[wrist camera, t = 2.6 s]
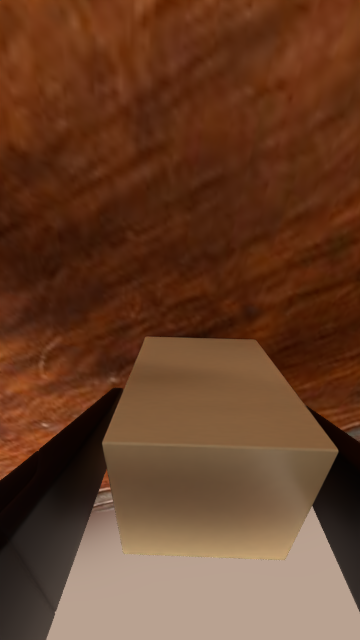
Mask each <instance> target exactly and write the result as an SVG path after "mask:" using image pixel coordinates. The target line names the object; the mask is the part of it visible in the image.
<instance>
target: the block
mask: <svg viewBox="0 0 360 640" xmlns="http://www.w3.org/2000/svg"><path fill="white" fill-rule="evenodd" d="M102 445H103V451H104V456H105V461H106V466H107V471H108V477H109V482H110V487H111V492H112V498H113V503H114V508H115V513H116V518H117V524H118V529H119V534H120V539H121V544H122V550H123V553H124V554H140V555H165V556H192V557H218V558H244V559H268V560H285V559H286V557H287V555H288V553H289V551H290V549H291V547H292V545H293V543H294V541H295V538H296V537H297V535H298V533H299V531H300V529H301V527H302V525H303V523H304V521H305V519H306V517H307V514H308V513H309V511H310V509H311V507H312V505H313V503H314V501H315V498H316V496H317V494H318V492H319V490H320V488H321V486H322V484H323V482H324V480H325V478H326V476H327V474H328V472H329V470H330V468H331V466H332V464H333V462H334V460H335V458H336V456H337V454H338V449H337V447H336V446H335V445H334V443H333V442H332V441H331V439H330V438H329V437H328V435H327V434H326V433H325V431H324V430H323V429H322V427H321V426H320V425H319V423H318V422H317V421H316V419H315V418H314V417H313V415H312V414H311V413H310V411H309V410H308V409H307V407H306V406H305V405H304V403H303V402H302V401H301V399H300V398H299V397H298V395H297V394H296V393H295V391H294V390H293V389H292V387H291V386H290V385H289V383H288V382H287V381H286V379H285V378H284V377H283V375H282V374H281V373H280V371H279V370H278V369H277V367H276V366H275V365H274V363H273V362H272V361H271V359H270V358H269V357H268V355H267V354H266V353H265V351H264V350H263V349H262V347H261V346H260V345H259V343H258V342H257V341H256V340H253V339H217V338H181V337H145V340H144V342H143V345H142V347H141V349H140V352H139V354H138V357H137V359H136V362H135V364H134V366H133V369H132V371H131V374H130V376H129V379H128V381H127V383H126V386H125V388H124V391H123V393H122V396H121V398H120V400H119V403H118V405H117V408H116V410H115V413H114V415H113V418H112V420H111V422H110V425H109V427H108V430H107V432H106V435H105V437H104V439H103V442H102Z"/></svg>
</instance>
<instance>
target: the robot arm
mask: <svg viewBox="0 0 360 640" xmlns="http://www.w3.org/2000/svg"><path fill="white" fill-rule="evenodd" d="M123 391H124V390H123V388H113V389H111V390H110V391H109V392H108V393H107V394H105V395H104V396H103V397H102V398H100V399H99V400H98V401H97V402H96V403H94V404H93V405H92V406H91V407H90V408H88V409H87V410H86V411H85V412H84V413H82V414H81V415H80V416H79V417H78V418H76V419H75V420H74V421H73V422H72V423H70V424H69V425H68V426H67V427H65V428H64V429H63V430H62V431H61V432H59V433H58V434H57V435H56V436H55V437H53V438H52V439H51V440H50V441H49V442H47V443H46V444H45V445H44V446H43V447H41V448H40V449H39V451H36V452H35V453H34V454H33V455H32V456H30V457H29V458H28V459H27V460H26V461H24V462H23V463H22V464H21V465H19V466H18V467H17V468H16V469H14V470H13V471H12V472H11V473H9V474H8V475H7V476H5V477H4V478H3V479H1V480H0V640H46V638H47V636H48V633H49V630H50V627H51V624H52V621H53V619H54V615H55V611H56V610H57V607H58V604H59V601H60V598H61V596H62V593H63V590H64V587H65V584H66V581H67V579H68V576H69V573H70V570H71V567H72V565H73V562H74V559H75V556H76V553H77V551H78V548H79V545H80V542H81V539H82V536H83V533H84V531H85V528H86V525H87V522H88V520H89V517H90V514H91V511H92V508H93V505H94V503H95V500H96V497H97V494H98V491H99V489H100V486H101V483H102V480H103V477H104V474H105V472H106V469H107V466H106V461H105V456H104V451H103V445H102V442H103V439H104V437H105V435H106V432H107V430H108V427H109V425H110V422H111V420H112V418H113V415H114V413H115V410H116V408H117V405H118V403H119V400H120V398H121V396H122V393H123ZM304 405H305V404H304ZM305 406H306V405H305ZM306 407H307V409H308V410H309V411H310V413H311V414H312V415H313V417H314V418H315V419H316V421H317V422H318V423H319V425H320V426H321V427H322V429H323V430H324V431H325V433H326V434H327V435H328V437H329V438H330V439H331V441H332V442H333V443H334V445H335V446H336V447H337V449H338V454H337V456H336V458H335V460H334V462H333V464H332V466H331V468H330V470H329V472H328V474H327V476H326V478H325V480H324V482H323V484H322V486H321V488H320V490H319V492H318V494H317V496H316V498H315V501H314V503H313V505H312V506H313V508H314V511H315V513H316V515H317V517H318V520H319V522H320V524H321V526H322V529H323V531H324V533H325V535H326V538H327V540H328V542H329V544H330V547H331V549H332V551H333V553H334V555H335V558H336V560H337V562H338V564H339V567H340V569H341V571H342V573H343V576H344V578H345V580H346V582H347V585H348V587H349V589H350V591H351V593H352V596H353V598H354V600H355V602H356V604H357V607H358V609H359V611H360V443H359V442H358V441H357V440H355V439H354V438H352V437H351V436H349V435H348V434H347V433H345V432H344V431H342V430H341V429H339V428H338V427H336V426H335V425H334V424H332V423H331V422H329V421H328V420H326V419H325V418H324V417H322V416H321V415H319V414H318V413H316V412H315V411H313V410H312V409H311V408H309V407H308V406H306Z"/></svg>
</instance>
